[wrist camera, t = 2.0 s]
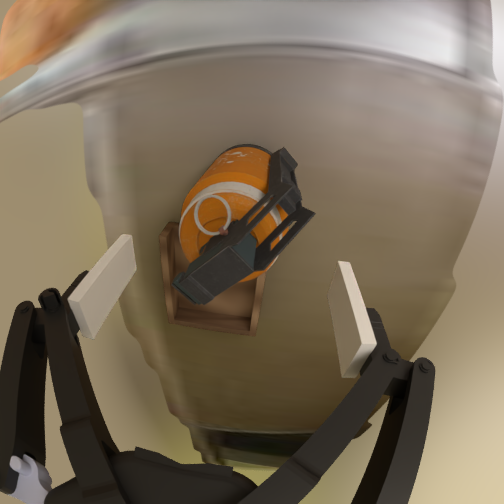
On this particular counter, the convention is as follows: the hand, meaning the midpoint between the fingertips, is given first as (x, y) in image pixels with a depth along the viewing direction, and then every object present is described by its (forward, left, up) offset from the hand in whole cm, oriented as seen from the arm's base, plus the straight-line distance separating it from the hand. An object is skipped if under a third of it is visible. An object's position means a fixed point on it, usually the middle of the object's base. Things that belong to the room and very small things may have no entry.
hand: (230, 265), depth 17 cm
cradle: (+16, -4, -19) cm, 25 cm away
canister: (0, 0, -19) cm, 19 cm away
